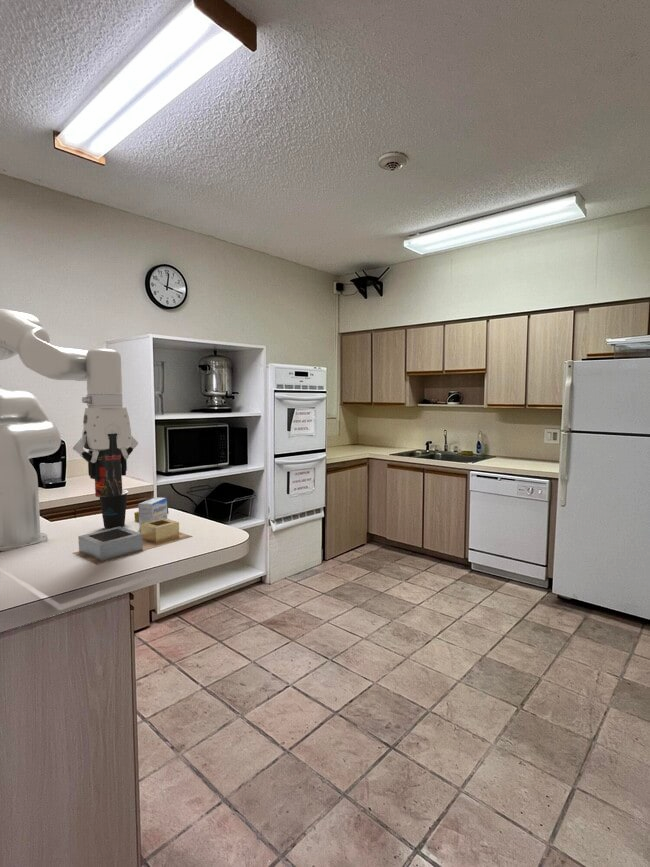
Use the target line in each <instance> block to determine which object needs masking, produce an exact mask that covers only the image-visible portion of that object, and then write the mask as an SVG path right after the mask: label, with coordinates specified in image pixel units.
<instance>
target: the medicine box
mask: <svg viewBox="0 0 650 867" xmlns="http://www.w3.org/2000/svg"><path fill="white" fill-rule="evenodd" d="M167 499H168V498H166V497H152V498H149V499H148V500H147V499H146V500H145V501H143V502H139V503H138V505H137V506H138V511H139V522H138V525H139V530H140V531H141V523H145V522H149V521H153V520H157V519H161V518H166V519H168V514H167V504H168V500H167Z"/></svg>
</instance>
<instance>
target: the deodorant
mask: <svg viewBox="0 0 650 867" xmlns="http://www.w3.org/2000/svg"><path fill="white" fill-rule="evenodd" d="M116 436H117V434H116V433H115V434H108V437H109V438H108V439H109V449H107V450H102V451H99V454H98V457H97V460H96V462H98V463H99V479H97V480H95V479H94V491H95V495H94V496H95V497H96V498H99V497H115V496H119V495H122V490H123V475H122V468H121V449H119V448H117V438H118V437H117V438H116Z"/></svg>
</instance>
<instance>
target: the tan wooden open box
mask: <svg viewBox="0 0 650 867" xmlns="http://www.w3.org/2000/svg"><path fill="white" fill-rule="evenodd" d="M179 532H180V522H179V521H177V520H172V519H169V518H167V519H166V518H161V519H157V520H153V521H149V522H145V523H141V530H140V533H141V534H142V539H145V540H148V541H150V542H153V543H159V542H163V541H166V540H170V539H173V538H177V537H179Z"/></svg>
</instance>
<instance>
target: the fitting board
mask: <svg viewBox="0 0 650 867" xmlns="http://www.w3.org/2000/svg"><path fill="white" fill-rule="evenodd" d="M192 537H194V536H193V535H189V534H187V533H184V532H180V531H179V537H177V538H173V539H170V540H166V541H163V542H159V543H153V542H150V541H148V540H145V539H142V541H143V550H140V551H137V552H133V553H130V554H126V555H123V556H120V557H116V558H113V559H109V560H106V561H102V562H100V561H97V560H95V559H93V558H91V557H89V556H86V555H84V554H82V553H80V552H79V550H78V551H75V552H72V554H74V555H76V556H77V557H80V558H82V559H84V560H86V561H89V562H90V563H93V564H95V565H99V564H100V565H101V564H104V563H107V562H110V561H113V560H117V559H120V558H124V557H127V556H130V555H134V554H138V553H141V552H144V551H147V550H151V549H156V548H158V547H162V546H164V545H168V544H172V543H175V542H178V541H183V540H185V539H190V538H192Z"/></svg>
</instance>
